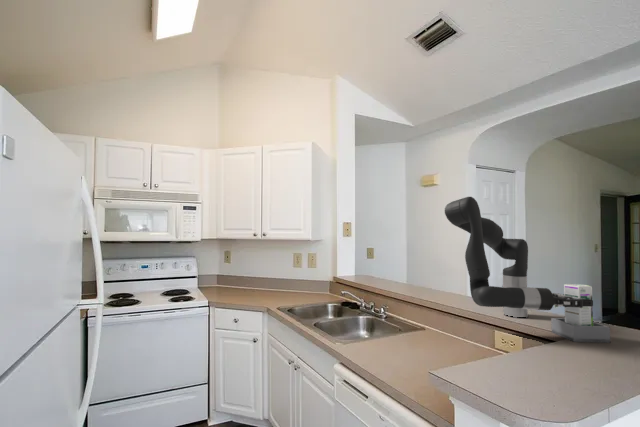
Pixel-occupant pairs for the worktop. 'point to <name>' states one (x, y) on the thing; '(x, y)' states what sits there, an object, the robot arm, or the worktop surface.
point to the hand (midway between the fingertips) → (584, 300)
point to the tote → (581, 331)
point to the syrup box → (577, 314)
